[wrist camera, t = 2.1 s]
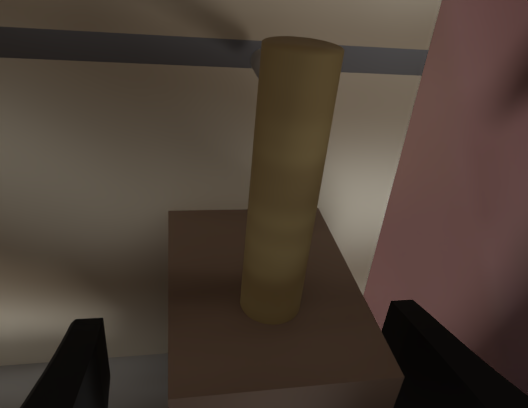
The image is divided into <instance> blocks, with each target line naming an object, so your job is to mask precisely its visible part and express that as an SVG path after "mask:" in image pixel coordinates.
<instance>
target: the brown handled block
mask: <svg viewBox="0 0 528 408" xmlns="http://www.w3.org/2000/svg"><path fill="white" fill-rule="evenodd" d="M343 57H344V49H343V48H342V47H341V46H339V45H337V44H334V43H331V42H327V41H323V40H319V39H313V38H306V37H295V36H275V37H268V38H265V39H263V40H262V45H261V49H258V50H256V51H255V52H254V53H253V54H252V56H251V59H250V64H251V67H252V68H253V70H254V72H255V74H256V76H257V78H258V79H259V81H258V93H257V105H256V116H255V128H254V140H253V152H252V164H251V176H250V188H249V200H248V209H241V210H181V211H168V408H393V407H394V404H395V402H396V399H397V396H398V393H399V391H400V388H401V385H402V383H403V380H404V375H403V373H402V371H401V369H400V367H399V365H398V363H397V361H396V359H395V357H394V355H393V353H392V351H391V349H390V348H389V346H388V344H387V342H386V340H385V338H384V336H383V334H382V332H381V330H380V328H379V326H378V324H377V322H376V320H375V318H374V316H373V314H372V312H371V310H370V308H369V306H368V304H367V302H366V301H365V299H364V297H363V295H362V293H361V291H360V289H359V287H358V285H357V283H356V281H355V279H354V277H353V275H352V273H351V271H350V269H349V267H348V265H347V263H346V261H345V259H344V257H343V255H342V253H341V252H340V250H339V248H338V246H337V244H336V242H335V240H334V238H333V236H332V234H331V232H330V230H329V228H328V226H327V224H326V222H325V220H324V218H323V216H322V214H321V212H320V210H319V208H317V205H318V200H319V194H320V188H321V183H322V177H323V171H324V165H325V160H326V154H327V148H328V142H329V137H330V131H331V125H332V120H333V114H334V108H335V102H336V97H337V91H338V85H339V79H340V74H341V68H342V62H343Z"/></svg>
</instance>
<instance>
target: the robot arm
mask: <svg viewBox="0 0 528 408" xmlns="http://www.w3.org/2000/svg"><path fill="white" fill-rule="evenodd" d="M382 334H383V336H384V338H385V340H386V342H387V344H388V346H389V348H390V349H391V351H392V353H393V355H394V357H395V359H396V361H397V363H398V365H399V367H400V369H401V371H402V373H403V375H404V380H403V383H402V385H401V388H400V391H399V393H398V396H397V399H396V402H395V404H394V407H393V408H528V396H527V395H526V394H525V393H523V392H522V391H521V390H519V389H518V388H517V387H516V386H514V385H513V384H512V383H510V382H509V381H508V380H506V379H505V378H504V377H503V376H501V375H500V374H499V373H498V372H496V371H495V370H494V369H493V368H491V367H490V366H489V365H488V364H487V363H485V362H484V361H483V360H482V359H481V358H479V357H478V356H477V355H476V354H475V353H473V352H472V351H471V350H470V349H469V348H468V347H466V346H465V345H464V344H463V343H462V342H461V341H460V340H458V339H457V338H456V337H455V336H454V335H453V334H452V333H450V332H449V331H448V330H447V329H446V328H445V327H444V326H442V325H441V324H440V323H439V322H438V321H437V320H436V319H434V318H433V317H432V316H431V315H430V314H429V313H428V312H426V311H425V310H424V309H423V308H422V307H421V306H419V305H418V304H417V303H416V302H415V301H413V300H400V301H391V303H390V306H389V309H388V313H387V316H386V319H385V322H384V325H383V328H382ZM109 389H110V368H109V360H108V352H107V344H106V336H105V328H104V320H103V318H87V319H75V320H74V321H73V322H72V323H71V324H70V326H69V328H68V330H67V332H66V334H65V335H64V337H63V339H62V341H61V343H60V345H59V346H58V348H57V350H56V352H55V353H54V355H53V357H52V358H51V360H50V362H49V363H48V365H47V367H46V368H45V370H44V372H43V373H42V375H41V376H40V378H39V379H38V381H37V382H36V384H35V385H34V387H33V388H32V390H31V391H30V393H29V395H28V396H27V398H26V399H25V401H24V402H23V404H22V405H21V407H20V408H108V401H109Z"/></svg>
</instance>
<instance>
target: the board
mask: <svg viewBox="0 0 528 408" xmlns="http://www.w3.org/2000/svg"><path fill="white" fill-rule="evenodd" d="M441 1H442V0H0V408H20V407H21V405H22V404H23V402H24V401H25V399H26V398H27V396H28V395H29V393H30V391H31V390H32V388H33V387H34V385H35V384H36V382H37V381H38V379H39V378H40V376H41V375H42V373H43V372H44V370H45V368H46V367H47V365H48V363H49V362H50V360H51V358H52V357H53V355H54V353H55V352H56V350H57V348H58V346H59V345H60V343H61V341H62V339H63V337H64V335H65V334H66V332H67V330H68V328H69V326H70V324H71V323H72V322H73V321H74V320H75V319H87V318H103V320H104V328H105V336H106V344H107V352H108V360H109V368H110V389H109V401H108V408H168V211H181V210H241V209H248V200H249V188H250V176H251V164H252V152H253V140H254V128H255V116H256V105H257V93H258V81H259V79H258V78H257V76H256V74H255V72H254V70H253V68H252V67H251V64H250V59H251V56H252V54H253V53H254V52H255V51H256V50H258V49H261V45H262V40H263V39H265V38H268V37H275V36H295V37H306V38H313V39H319V40H323V41H327V42H331V43H334V44H337V45H339V46H341V47H342V48H343V49H344V57H343V62H342V68H341V74H340V79H339V85H338V91H337V97H336V102H335V108H334V114H333V120H332V125H331V131H330V137H329V142H328V148H327V154H326V160H325V165H324V171H323V177H322V183H321V188H320V194H319V200H318V205H317V208H319V210H320V212H321V214H322V216H323V218H324V220H325V222H326V224H327V226H328V228H329V230H330V232H331V234H332V236H333V238H334V240H335V242H336V244H337V246H338V248H339V250H340V252H341V253H342V255H343V257H344V259H345V261H346V263H347V265H348V267H349V269H350V271H351V273H352V275H353V277H354V279H355V281H356V283H357V285H358V287H359V289H360V291H361V293H362V295H363V294H364V290H365V287H366V283H367V279H368V275H369V272H370V268H371V264H372V260H373V257H374V253H375V249H376V245H377V242H378V238H379V234H380V230H381V226H382V223H383V219H384V215H385V211H386V208H387V204H388V200H389V196H390V193H391V189H392V185H393V181H394V178H395V174H396V170H397V166H398V163H399V159H400V155H401V151H402V148H403V144H404V140H405V136H406V133H407V129H408V125H409V121H410V117H411V114H412V110H413V106H414V102H415V99H416V95H417V91H418V87H419V84H420V80H421V76H422V72H423V69H424V65H425V61H426V57H427V54H428V50H429V46H430V42H431V39H432V35H433V31H434V27H435V24H436V20H437V16H438V12H439V8H440V5H441Z"/></svg>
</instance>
